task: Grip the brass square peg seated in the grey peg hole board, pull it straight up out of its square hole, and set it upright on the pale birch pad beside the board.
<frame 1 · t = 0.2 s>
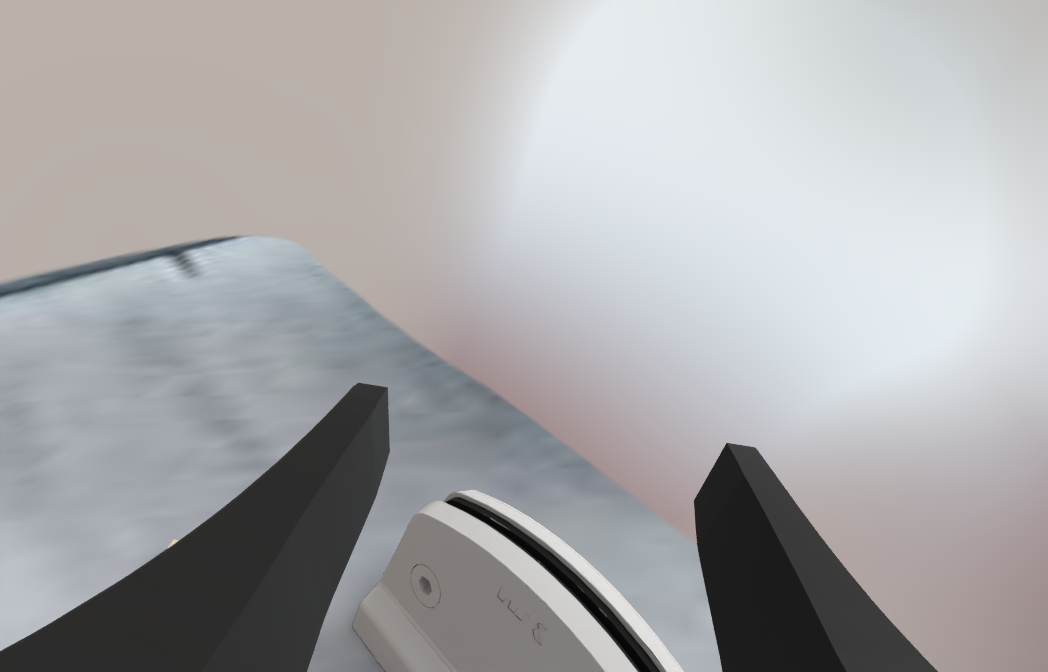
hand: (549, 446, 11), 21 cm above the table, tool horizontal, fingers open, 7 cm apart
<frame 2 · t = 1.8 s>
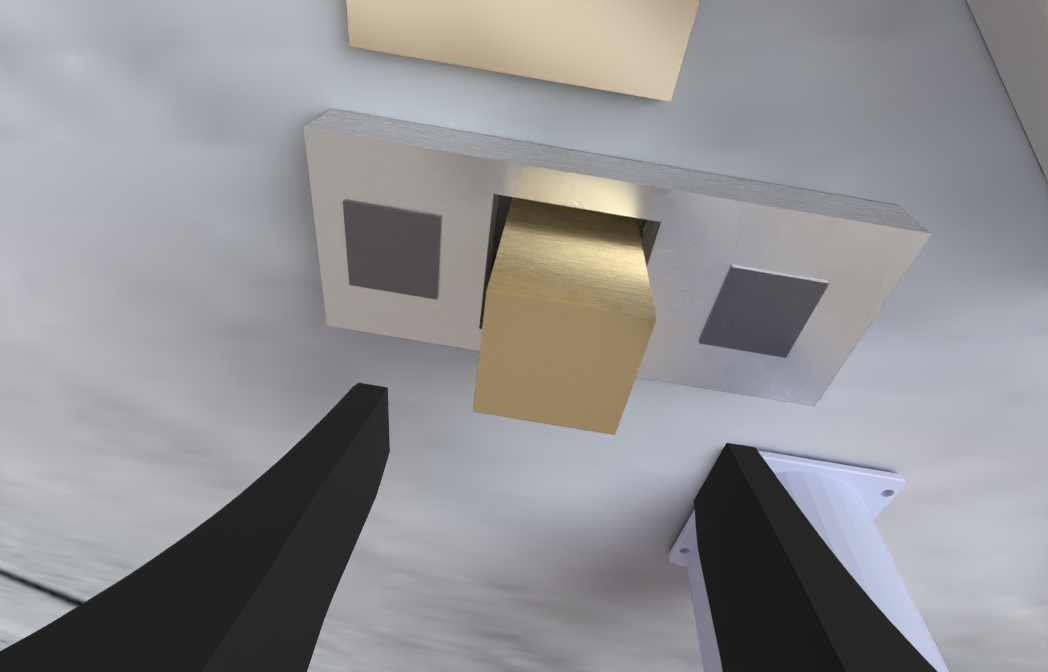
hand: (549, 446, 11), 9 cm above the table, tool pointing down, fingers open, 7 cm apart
grey peg hole board: (592, 255, 18), on the table
brass peg: (564, 250, 18), resting in grey peg hole board
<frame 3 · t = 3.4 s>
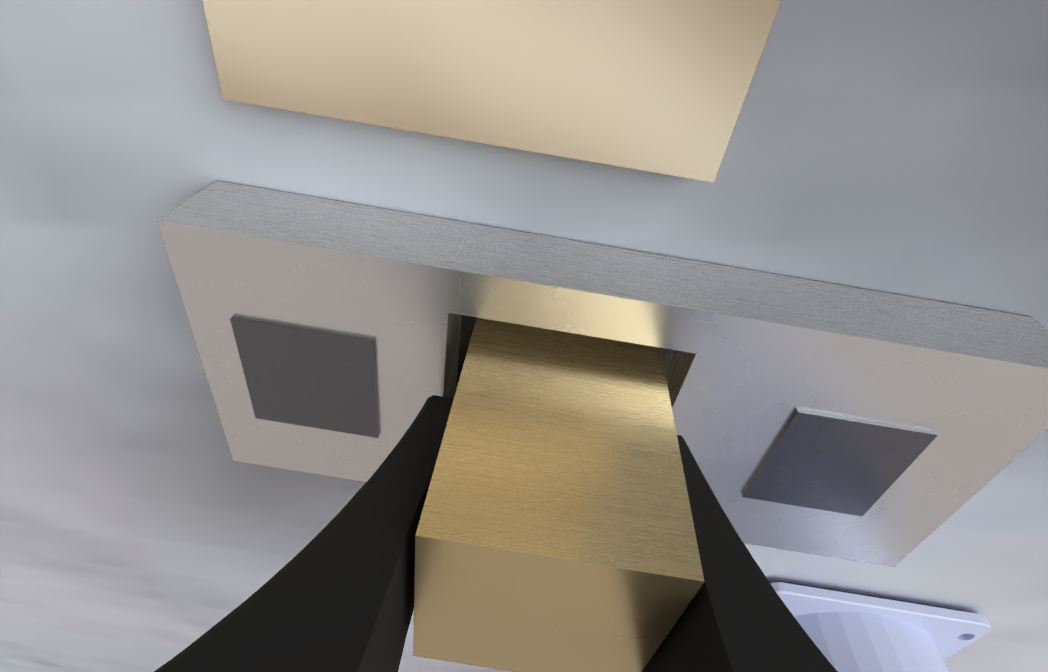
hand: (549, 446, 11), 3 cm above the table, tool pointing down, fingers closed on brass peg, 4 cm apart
grey peg hole board: (593, 369, 13), on the table
brass peg: (555, 362, 14), resting in grey peg hole board, touching gripper
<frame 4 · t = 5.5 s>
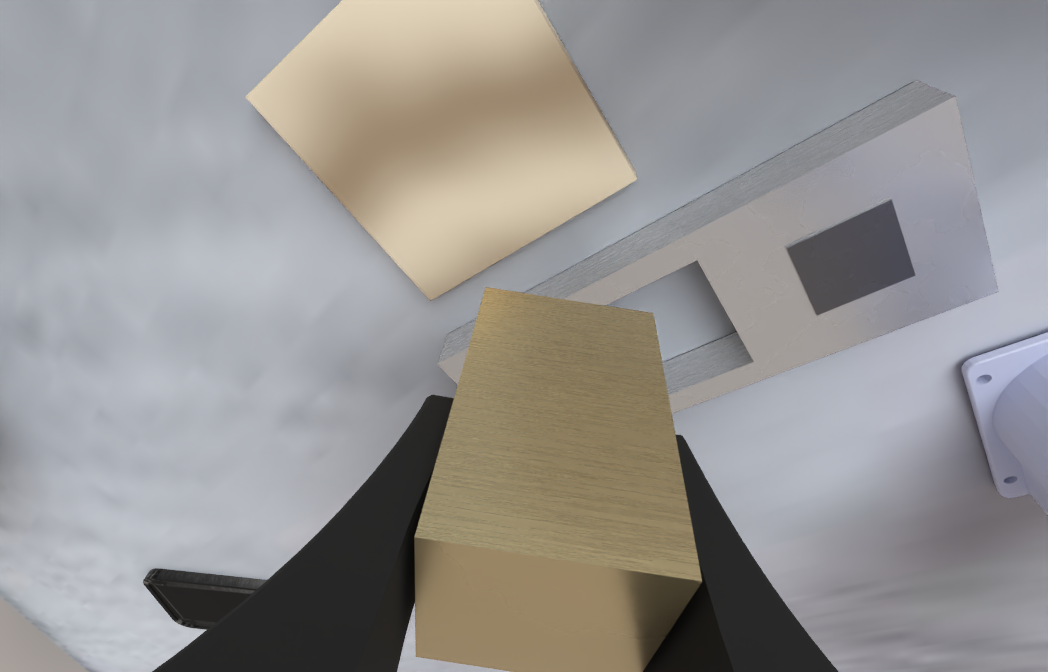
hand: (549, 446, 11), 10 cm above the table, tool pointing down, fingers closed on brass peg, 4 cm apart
birch pad: (448, 131, 17), on the table
grey peg hole board: (679, 301, 20), on the table
phone: (261, 596, 41), on the table
brass peg: (556, 363, 14), point 7 cm above the table, touching gripper
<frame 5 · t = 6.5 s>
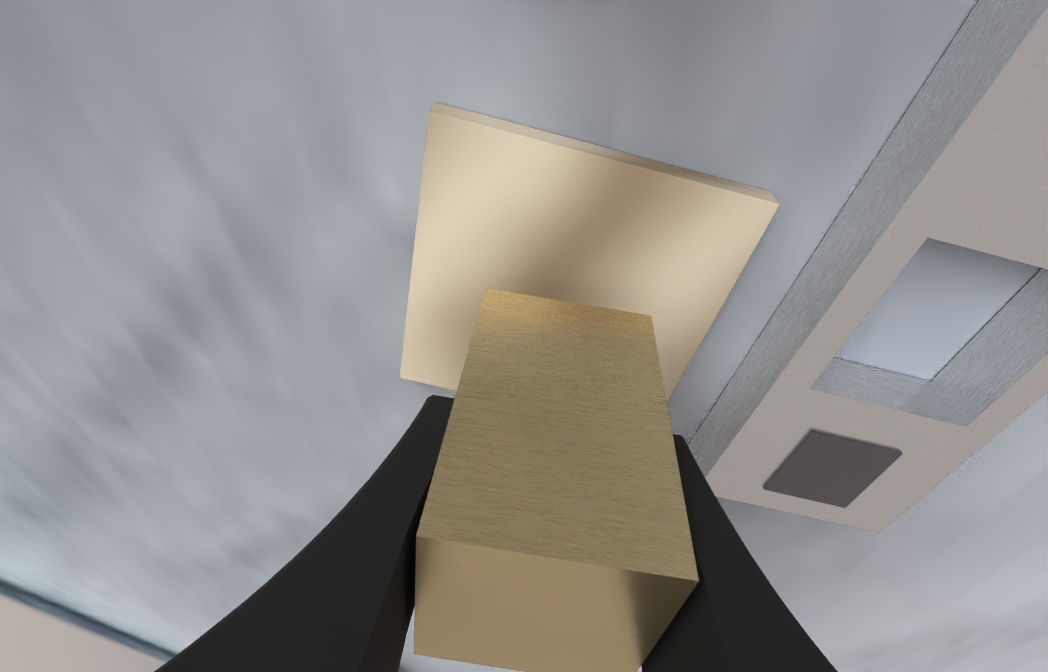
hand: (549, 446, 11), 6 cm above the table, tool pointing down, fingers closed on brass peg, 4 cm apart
birch pad: (561, 290, 16), on the table
grey peg hole board: (935, 273, 15), on the table
brass peg: (554, 364, 14), point 3 cm above the table, touching gripper
when the fingers open (5 cm above the table, at t = 7.5 s): brass peg drops 1 cm, resting on birch pad.
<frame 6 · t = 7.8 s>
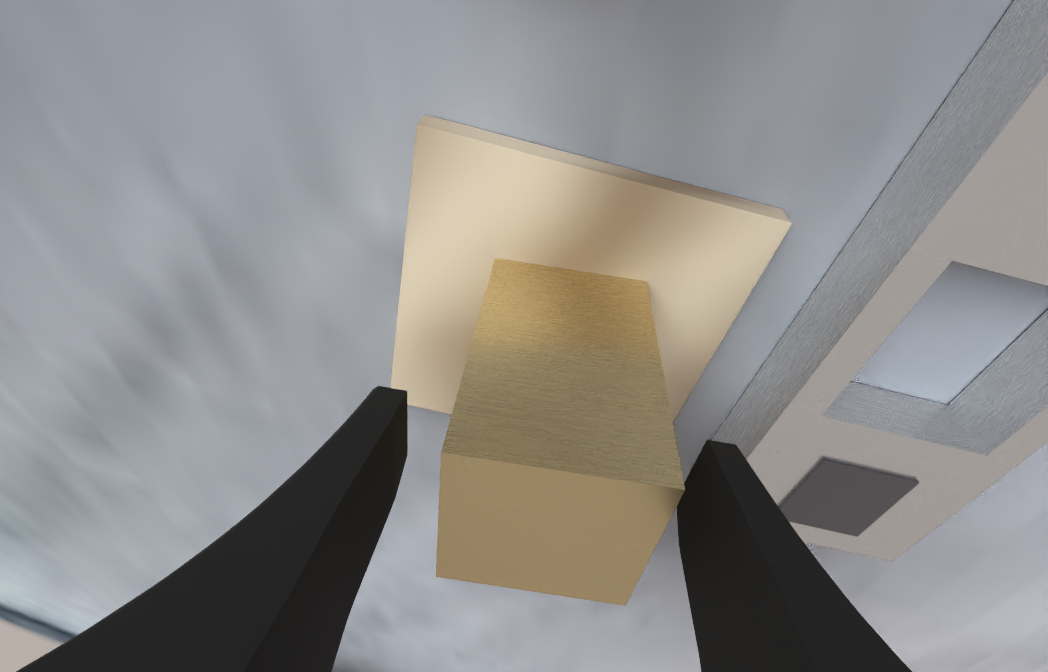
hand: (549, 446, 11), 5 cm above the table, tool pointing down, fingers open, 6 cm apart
birch pad: (558, 310, 15), on the table
grey peg hole board: (955, 294, 14), on the table
brass peg: (558, 330, 15), point 1 cm above the table, touching birch pad
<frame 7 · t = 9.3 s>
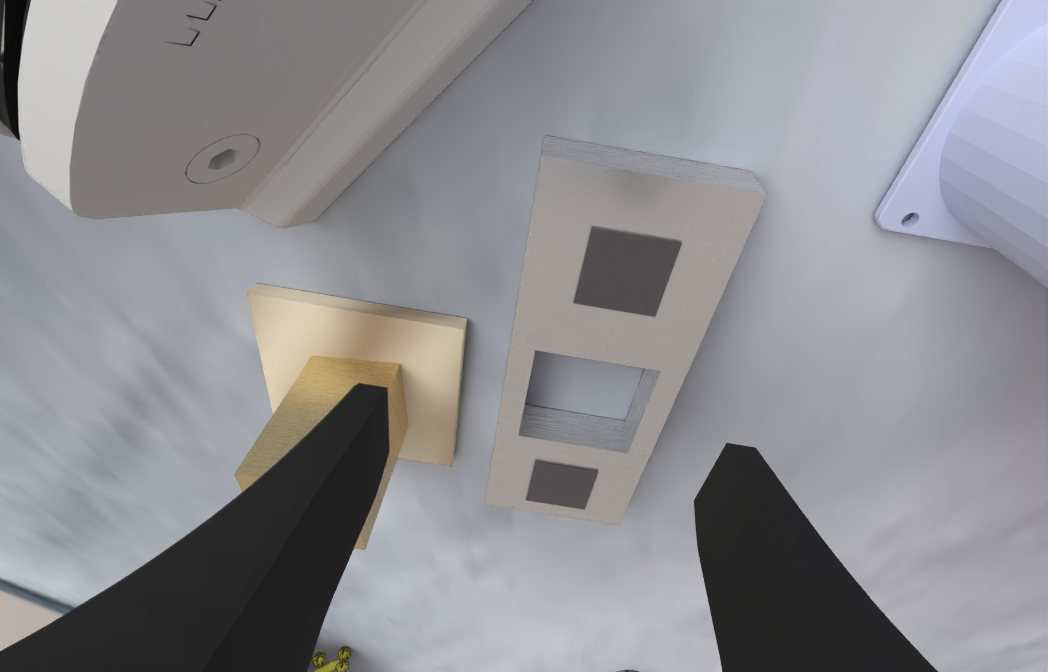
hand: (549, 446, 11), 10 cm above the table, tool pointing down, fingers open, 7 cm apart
birch pad: (366, 378, 25), on the table
grey peg hole board: (589, 357, 23), on the table
decorative flower: (304, 645, 45), on the table
brass peg: (362, 392, 24), point 1 cm above the table, touching birch pad
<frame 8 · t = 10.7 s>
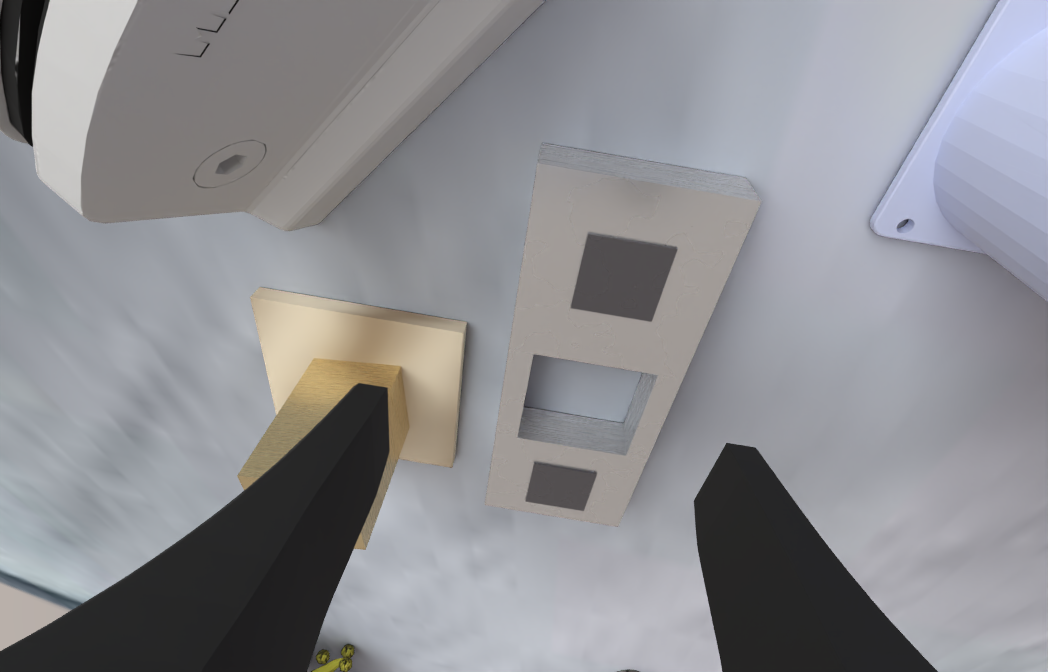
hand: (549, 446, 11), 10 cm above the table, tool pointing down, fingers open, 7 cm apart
birch pad: (368, 380, 25), on the table
grey peg hole board: (587, 360, 23), on the table
decorative flower: (308, 643, 46), on the table
brass peg: (363, 394, 25), point 1 cm above the table, touching birch pad
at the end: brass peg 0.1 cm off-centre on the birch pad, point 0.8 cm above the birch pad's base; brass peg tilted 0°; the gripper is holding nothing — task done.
